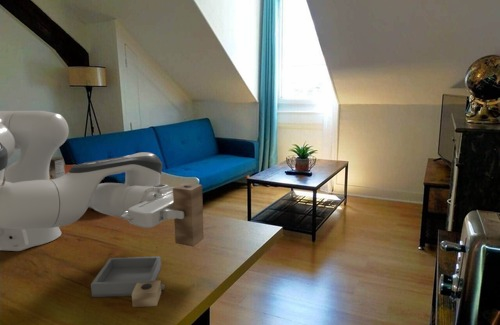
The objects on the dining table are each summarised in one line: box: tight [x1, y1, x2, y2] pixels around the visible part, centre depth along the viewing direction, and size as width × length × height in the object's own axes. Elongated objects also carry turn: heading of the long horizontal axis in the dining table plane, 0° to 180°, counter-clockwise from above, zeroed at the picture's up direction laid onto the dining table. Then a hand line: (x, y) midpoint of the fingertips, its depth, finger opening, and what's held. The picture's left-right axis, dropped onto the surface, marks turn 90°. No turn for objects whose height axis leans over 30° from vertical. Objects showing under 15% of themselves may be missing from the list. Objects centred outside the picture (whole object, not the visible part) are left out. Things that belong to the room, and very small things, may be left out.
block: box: [173, 182, 205, 247], centre depth 86 cm, size 5×5×14 cm
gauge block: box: [131, 279, 166, 308], centre depth 77 cm, size 6×7×3 cm
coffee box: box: [49, 156, 66, 179], centre depth 157 cm, size 9×6×16 cm
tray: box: [90, 255, 162, 298], centre depth 83 cm, size 13×13×3 cm
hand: (191, 210), depth 85 cm, fingers closed on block, 5 cm apart
